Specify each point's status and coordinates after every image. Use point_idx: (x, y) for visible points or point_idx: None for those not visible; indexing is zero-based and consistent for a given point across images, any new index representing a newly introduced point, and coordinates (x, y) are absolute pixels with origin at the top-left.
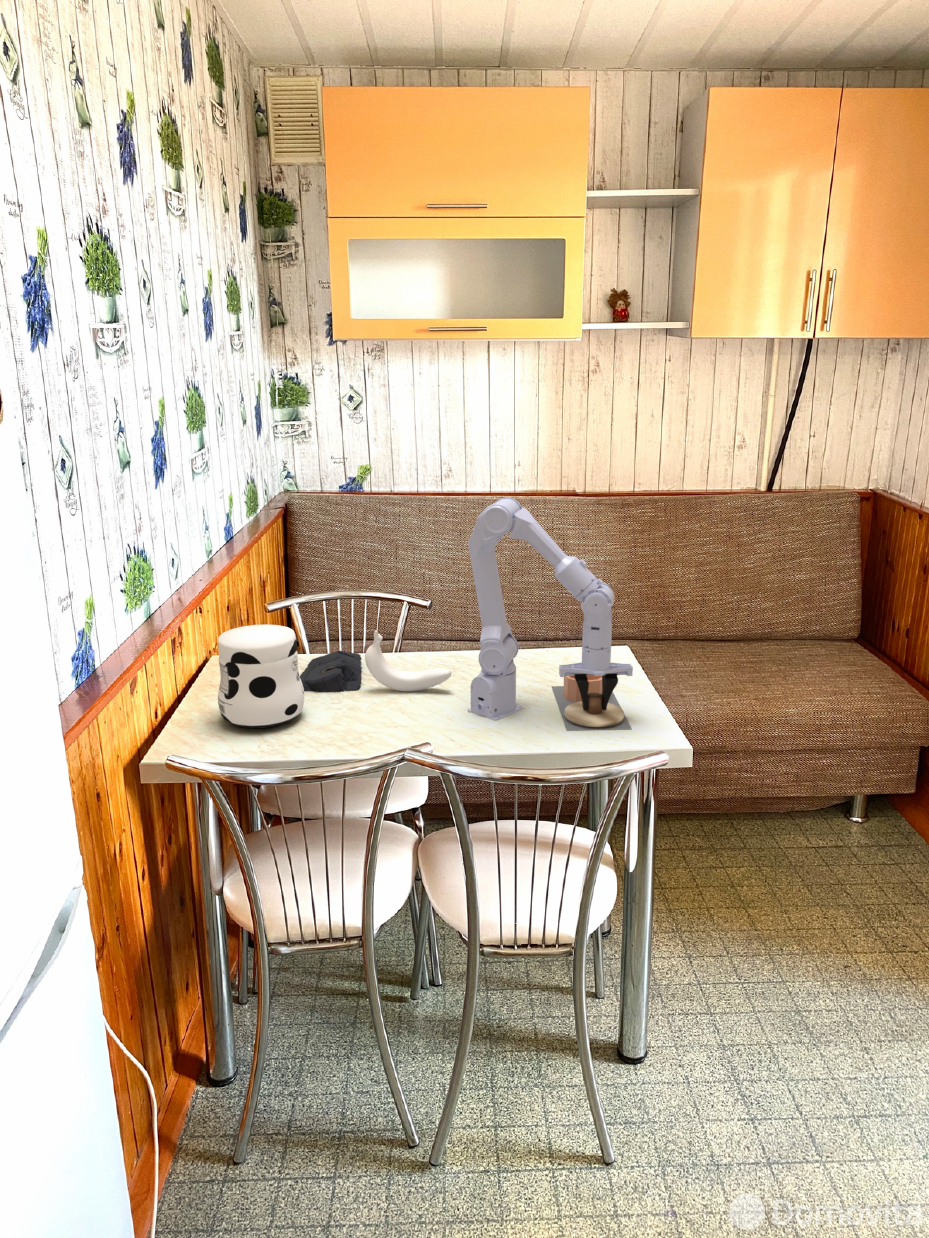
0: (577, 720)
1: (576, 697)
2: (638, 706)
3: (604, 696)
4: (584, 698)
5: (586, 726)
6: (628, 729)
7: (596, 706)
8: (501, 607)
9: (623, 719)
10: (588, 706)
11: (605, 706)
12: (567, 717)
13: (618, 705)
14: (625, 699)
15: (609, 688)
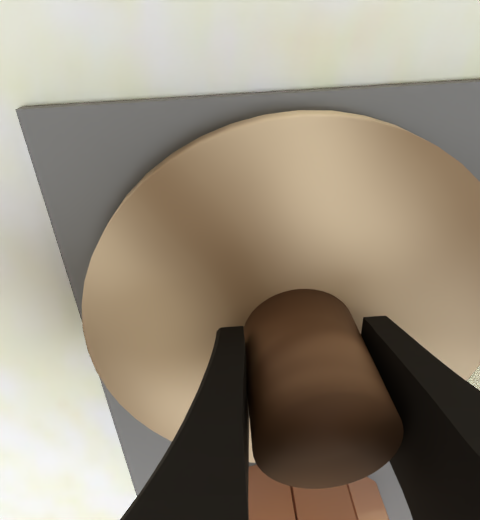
0: (474, 176)
1: (351, 490)
2: (26, 453)
3: (242, 423)
4: (452, 383)
5: None
6: (48, 109)
7: (307, 331)
8: None
9: None
10: (364, 344)
11: (226, 343)
12: None
13: (130, 449)
14: (97, 506)
15: (192, 511)
